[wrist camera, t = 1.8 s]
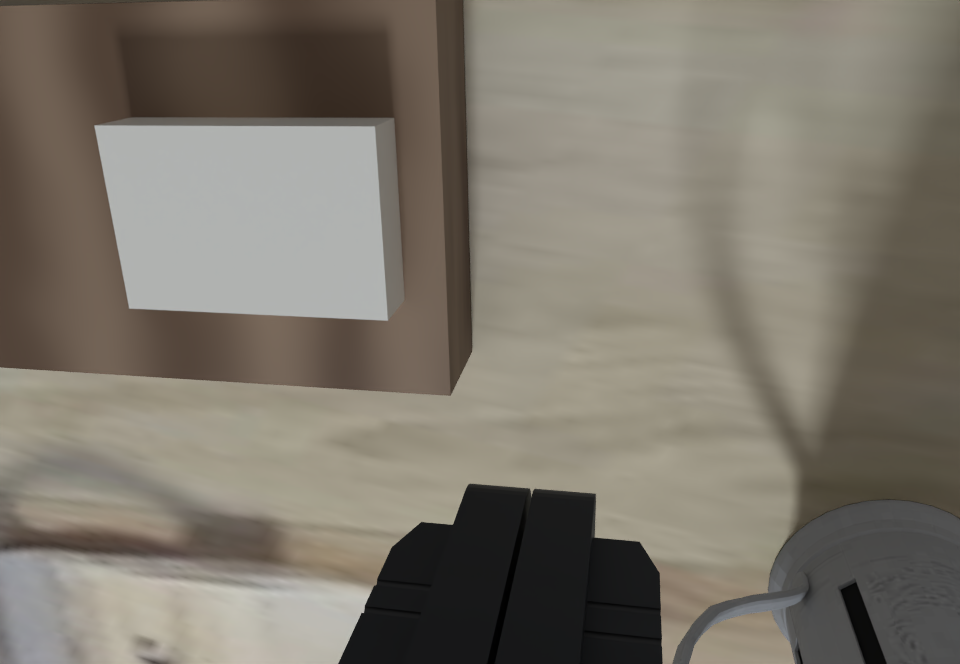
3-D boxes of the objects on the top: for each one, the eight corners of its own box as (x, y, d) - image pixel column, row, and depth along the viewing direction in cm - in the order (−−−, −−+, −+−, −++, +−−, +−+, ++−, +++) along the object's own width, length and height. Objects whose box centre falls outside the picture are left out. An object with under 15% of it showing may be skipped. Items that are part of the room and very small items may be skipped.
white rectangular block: (394, 117, 25) (374, 126, 23) (404, 299, 28) (387, 320, 26) (131, 117, 27) (94, 125, 25) (161, 289, 29) (129, 308, 27)
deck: (462, -4, 27) (435, -6, 24) (472, 351, 32) (450, 395, 29) (-53, 9, 31) (-146, 9, 27) (24, 327, 36) (-46, 364, 32)
